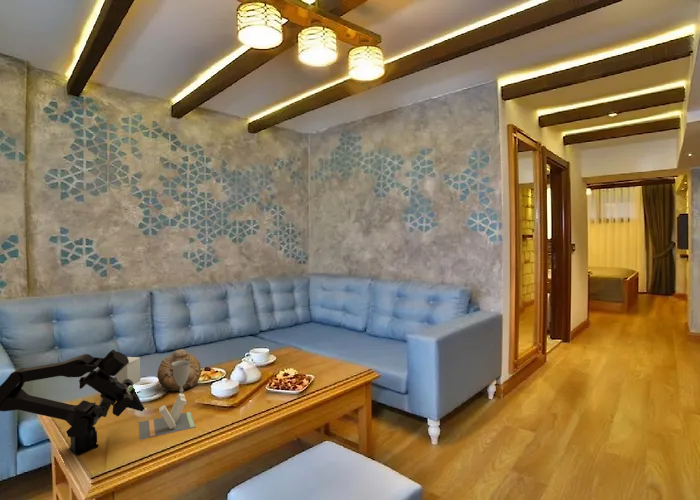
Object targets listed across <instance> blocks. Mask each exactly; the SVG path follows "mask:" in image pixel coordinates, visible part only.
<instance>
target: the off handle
mask: <svg viewBox="0 0 700 500" xmlns="http://www.w3.org/2000/svg"><path fill="white" fill-rule="evenodd" d="M158 410H159V414H160V415H161V416H162V417H163V418H164V420H165V421H166V423H167V425H168V426H169V428H170V429H172V428H173V427H175V426H176V424H175V421H174V420H173V418H172V416H171V415H170V412H169V410H168V407H167V406H166V405H165V404H164V405H162V406H161V407H159V408H158Z"/></svg>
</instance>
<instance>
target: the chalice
mask: <svg viewBox="0 0 700 500" xmlns="http://www.w3.org/2000/svg"><path fill="white" fill-rule="evenodd" d="M189 364H190V361H186V360H181V361H176V362H173V363H172V366H173V377H174V379H175V381H176V383H177V385H178V386H180V390H179V392H180V394H184V393H183V392H184V390H183V385H185V383H186V381H187V379H188V376H189ZM186 404H188V402H187V401H186V403H185V405H186Z"/></svg>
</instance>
